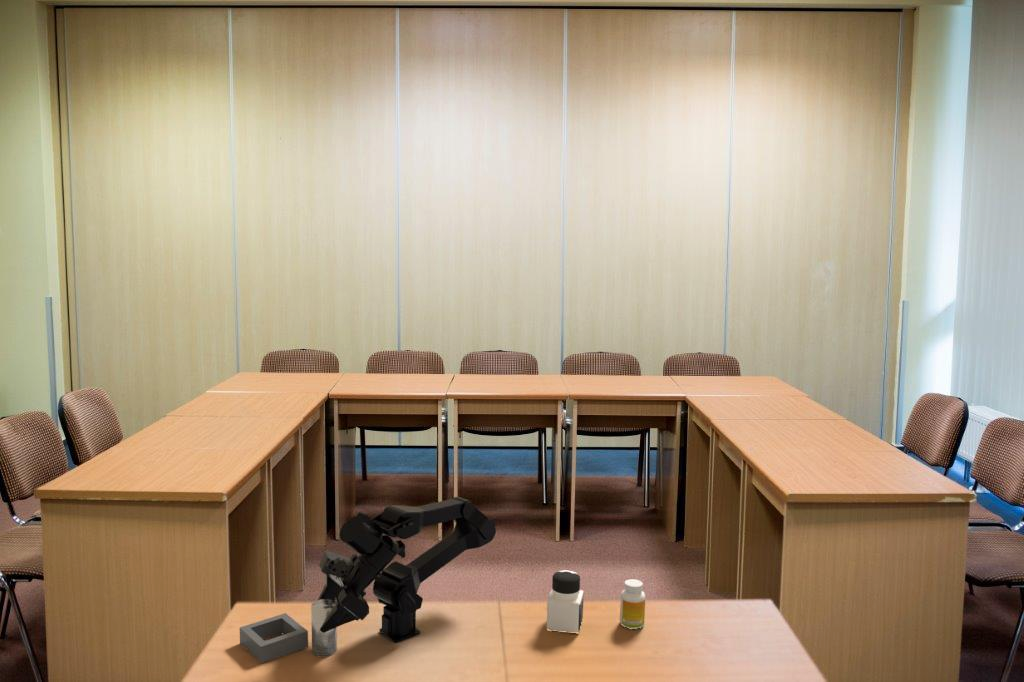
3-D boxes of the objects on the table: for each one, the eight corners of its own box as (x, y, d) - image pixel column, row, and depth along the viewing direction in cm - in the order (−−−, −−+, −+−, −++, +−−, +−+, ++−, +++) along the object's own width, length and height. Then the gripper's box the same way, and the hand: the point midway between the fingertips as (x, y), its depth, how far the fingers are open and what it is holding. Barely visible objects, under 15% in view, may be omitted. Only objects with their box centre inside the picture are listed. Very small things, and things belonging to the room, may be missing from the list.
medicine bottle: (579, 635, 178) (580, 582, 176) (546, 631, 179) (547, 578, 178) (582, 620, 185) (584, 568, 183) (551, 616, 186) (552, 565, 185)
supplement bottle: (648, 629, 181) (650, 587, 180) (624, 631, 180) (626, 589, 179) (638, 617, 187) (640, 576, 185) (616, 619, 185) (617, 578, 184)
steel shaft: (329, 642, 173) (328, 596, 172) (341, 651, 169) (341, 605, 168) (307, 649, 170) (306, 603, 168) (319, 659, 166) (318, 612, 165)
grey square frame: (285, 628, 178) (285, 613, 178) (308, 646, 171) (307, 630, 170) (239, 643, 172) (239, 627, 171) (261, 663, 164) (260, 646, 164)
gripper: (335, 523, 176) (283, 579, 174) (352, 556, 159) (294, 619, 157) (372, 553, 180) (321, 609, 178) (392, 589, 163) (336, 651, 161)
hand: (317, 620), depth 168 cm, fingers open, 9 cm apart
